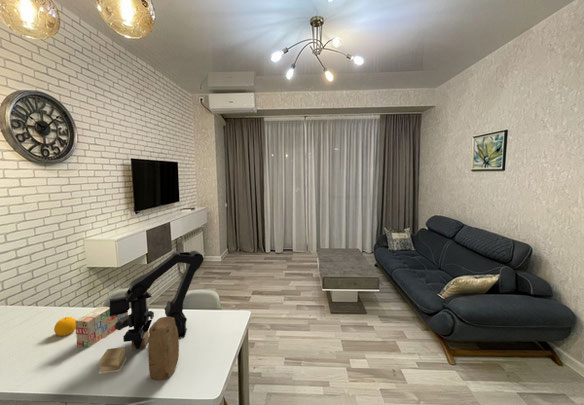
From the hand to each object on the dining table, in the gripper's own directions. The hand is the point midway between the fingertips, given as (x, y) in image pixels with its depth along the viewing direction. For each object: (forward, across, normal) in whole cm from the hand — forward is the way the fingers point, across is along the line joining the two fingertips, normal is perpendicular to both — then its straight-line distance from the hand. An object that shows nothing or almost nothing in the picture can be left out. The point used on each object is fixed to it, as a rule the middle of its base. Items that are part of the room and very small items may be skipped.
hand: (140, 344), depth 110 cm
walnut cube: (+1, 0, 0) cm, 1 cm away
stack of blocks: (+1, -14, -20) cm, 24 cm away
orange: (+1, -18, -37) cm, 41 cm away
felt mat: (+1, +9, -4) cm, 10 cm away
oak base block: (0, +11, -6) cm, 13 cm away
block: (+1, +18, +14) cm, 23 cm away
